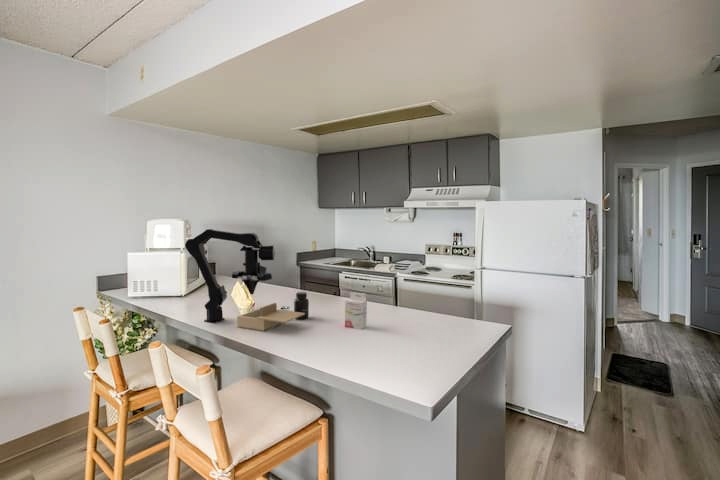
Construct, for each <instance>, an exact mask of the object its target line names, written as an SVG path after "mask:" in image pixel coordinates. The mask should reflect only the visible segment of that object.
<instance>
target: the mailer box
mask: <svg viewBox="0 0 720 480" xmlns="http://www.w3.org/2000/svg"><path fill="white" fill-rule="evenodd" d="M259 316H260V308H256V309H254V310H251V311H249V312H245V313H242V314H239V315H237V318H236V321H237V328H239V329H243V330H249V331H250V330H251V331H258V332H263V333H264V332H267V331H269V330H271V329H274V328H275V327H277V326H279V325H282V324H283V323H282V322H274V321H267V320H260V319H256V317H259Z"/></svg>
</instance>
